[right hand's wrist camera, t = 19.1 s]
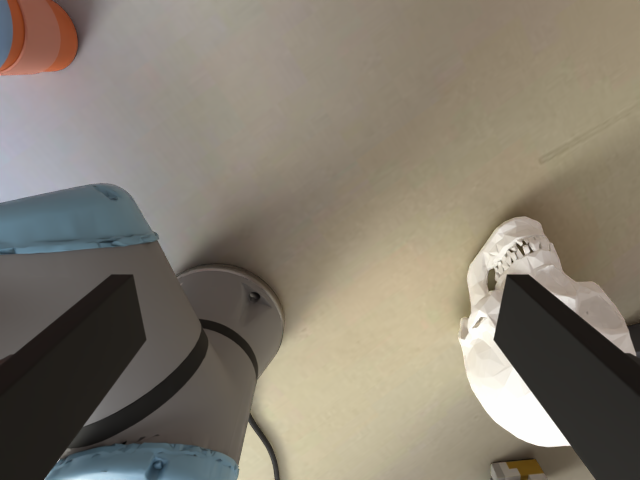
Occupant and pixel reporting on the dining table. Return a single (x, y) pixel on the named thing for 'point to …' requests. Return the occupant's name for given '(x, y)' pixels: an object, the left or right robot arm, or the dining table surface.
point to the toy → (517, 470)
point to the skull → (478, 330)
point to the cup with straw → (35, 37)
